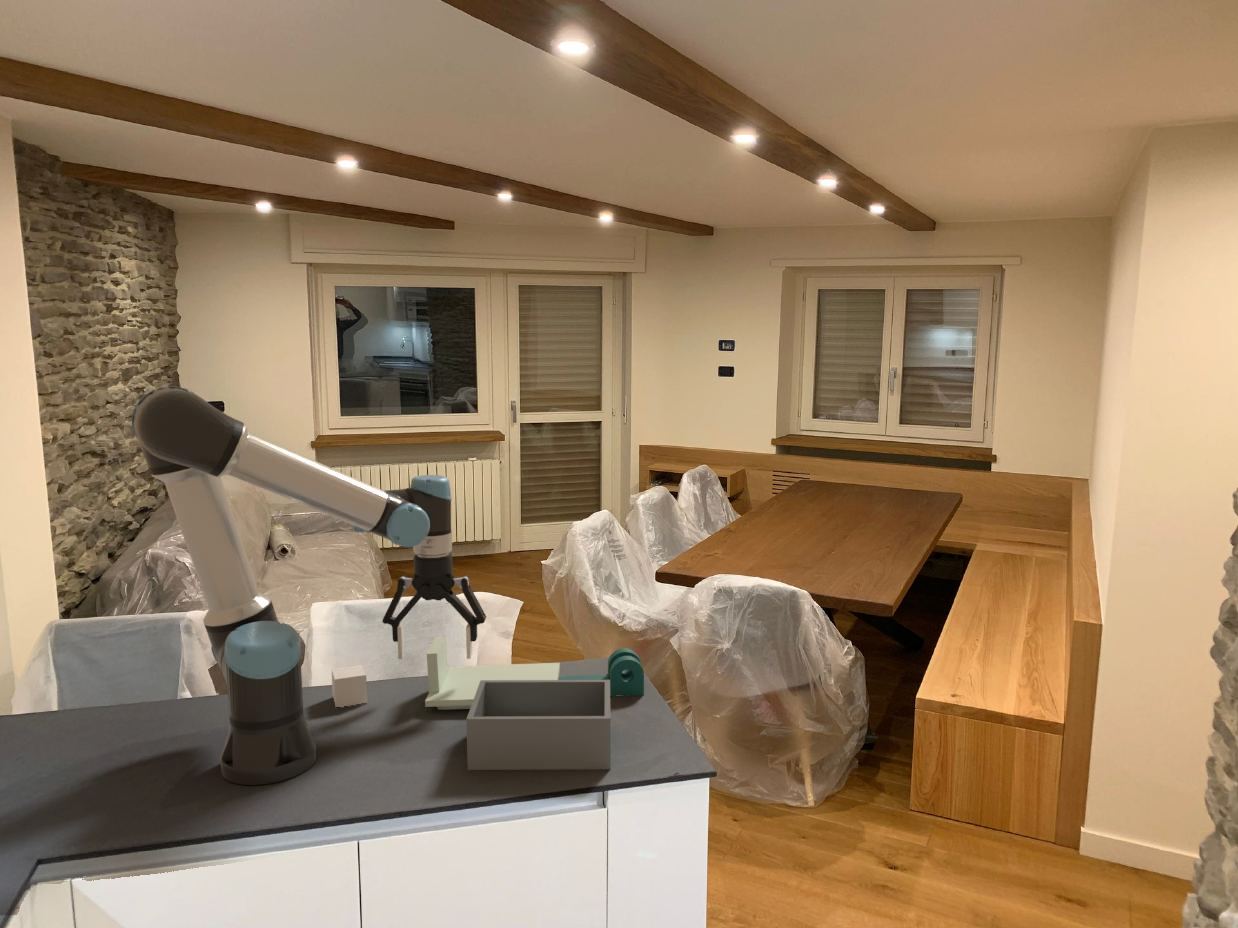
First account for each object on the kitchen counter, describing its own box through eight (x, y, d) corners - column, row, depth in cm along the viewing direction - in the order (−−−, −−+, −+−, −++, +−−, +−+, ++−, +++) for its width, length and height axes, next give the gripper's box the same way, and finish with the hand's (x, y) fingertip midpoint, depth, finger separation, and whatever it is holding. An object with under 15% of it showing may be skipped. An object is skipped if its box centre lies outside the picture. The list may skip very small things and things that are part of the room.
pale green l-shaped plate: (425, 714, 173) (422, 661, 171) (442, 678, 191) (439, 630, 189) (555, 709, 173) (553, 656, 172) (560, 674, 191) (558, 626, 190)
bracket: (639, 683, 189) (639, 647, 188) (643, 696, 182) (644, 659, 181) (554, 686, 187) (553, 650, 186) (555, 699, 180) (554, 662, 179)
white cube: (336, 708, 176) (334, 679, 175) (332, 697, 181) (331, 669, 180) (367, 703, 178) (366, 674, 177) (363, 692, 183) (362, 664, 183)
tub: (467, 769, 151) (466, 719, 149) (481, 726, 168) (480, 680, 166) (610, 769, 151) (610, 718, 150) (610, 725, 168) (610, 679, 167)
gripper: (364, 558, 174) (368, 663, 177) (493, 558, 174) (495, 662, 177) (374, 549, 181) (378, 650, 184) (498, 549, 181) (500, 649, 184)
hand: (435, 656), depth 181 cm, fingers open, 13 cm apart
